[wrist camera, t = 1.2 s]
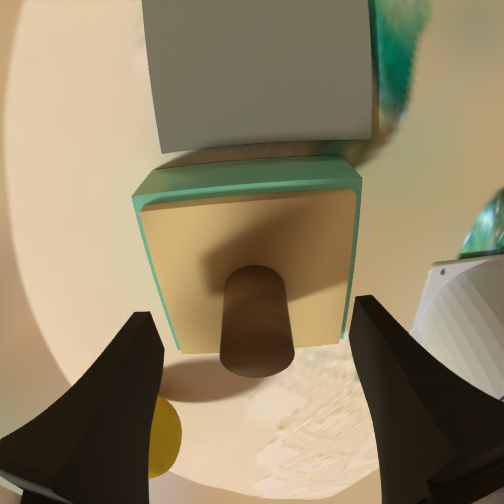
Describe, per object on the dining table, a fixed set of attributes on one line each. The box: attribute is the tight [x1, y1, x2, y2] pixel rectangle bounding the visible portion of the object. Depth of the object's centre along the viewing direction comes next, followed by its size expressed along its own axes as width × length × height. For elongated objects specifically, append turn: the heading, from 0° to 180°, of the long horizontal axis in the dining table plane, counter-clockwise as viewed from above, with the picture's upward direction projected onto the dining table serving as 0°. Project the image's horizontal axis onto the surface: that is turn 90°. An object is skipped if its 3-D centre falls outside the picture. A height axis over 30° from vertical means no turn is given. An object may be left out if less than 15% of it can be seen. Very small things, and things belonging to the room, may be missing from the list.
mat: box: [142, 0, 372, 154], centre depth 11 cm, size 9×8×1 cm
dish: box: [132, 155, 362, 350], centre depth 15 cm, size 8×8×3 cm
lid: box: [139, 189, 356, 378], centre depth 12 cm, size 8×8×4 cm
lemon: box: [148, 395, 182, 479], centre depth 20 cm, size 6×6×8 cm
